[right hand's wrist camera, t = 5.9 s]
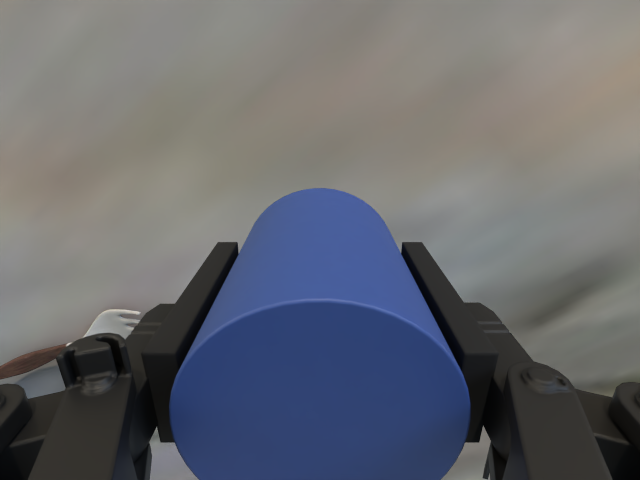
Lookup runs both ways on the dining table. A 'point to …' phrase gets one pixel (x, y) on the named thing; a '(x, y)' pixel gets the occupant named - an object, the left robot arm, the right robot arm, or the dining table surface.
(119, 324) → the fork
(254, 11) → the dining table surface
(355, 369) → the canister
